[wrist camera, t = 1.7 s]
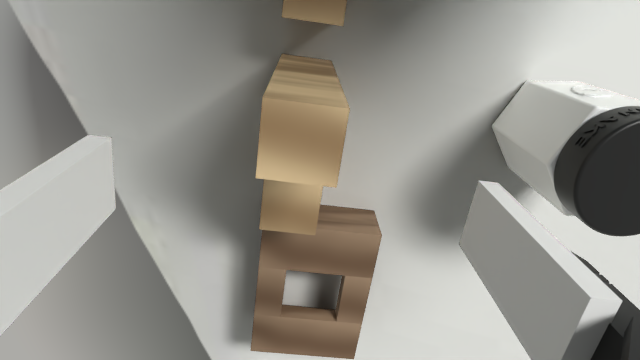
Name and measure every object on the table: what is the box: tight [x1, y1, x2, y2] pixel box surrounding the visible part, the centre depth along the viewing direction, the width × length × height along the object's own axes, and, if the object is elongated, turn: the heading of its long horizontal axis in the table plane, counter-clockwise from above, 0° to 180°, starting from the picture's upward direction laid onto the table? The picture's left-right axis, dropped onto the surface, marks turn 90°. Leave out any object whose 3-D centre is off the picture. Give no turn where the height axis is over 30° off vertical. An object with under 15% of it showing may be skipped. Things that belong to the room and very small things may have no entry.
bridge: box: [251, 205, 382, 359], centre depth 40 cm, size 14×10×4 cm
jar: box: [492, 81, 640, 236], centre depth 31 cm, size 9×8×12 cm
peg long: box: [256, 54, 350, 187], centre depth 27 cm, size 4×4×16 cm
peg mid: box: [259, 179, 323, 235], centre depth 33 cm, size 4×4×9 cm
